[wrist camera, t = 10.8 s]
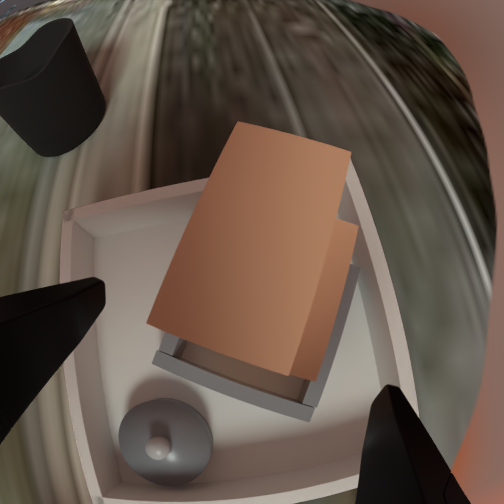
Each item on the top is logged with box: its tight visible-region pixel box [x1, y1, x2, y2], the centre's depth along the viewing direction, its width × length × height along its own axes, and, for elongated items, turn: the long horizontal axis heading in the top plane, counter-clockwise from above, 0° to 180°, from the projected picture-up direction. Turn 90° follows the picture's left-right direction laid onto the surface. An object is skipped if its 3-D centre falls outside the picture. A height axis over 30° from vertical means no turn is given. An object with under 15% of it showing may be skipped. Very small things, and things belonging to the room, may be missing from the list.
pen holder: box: [0, 18, 105, 157], centre depth 21 cm, size 9×9×10 cm
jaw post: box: [146, 121, 359, 382], centre depth 12 cm, size 4×4×13 cm
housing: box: [60, 159, 419, 504], centre depth 16 cm, size 18×18×4 cm
